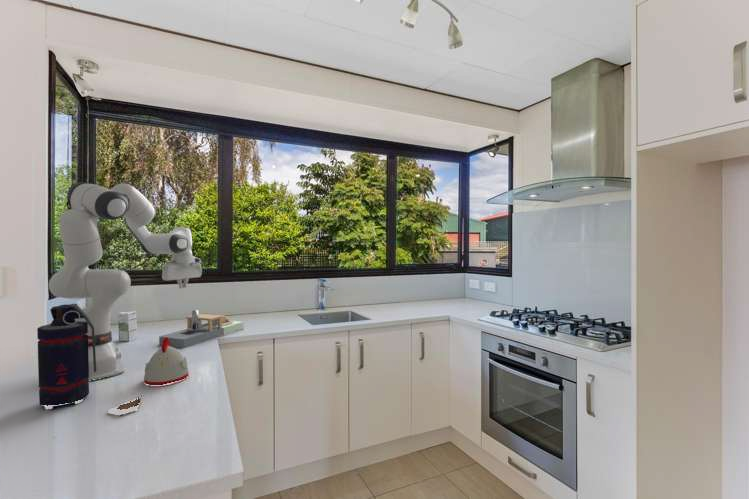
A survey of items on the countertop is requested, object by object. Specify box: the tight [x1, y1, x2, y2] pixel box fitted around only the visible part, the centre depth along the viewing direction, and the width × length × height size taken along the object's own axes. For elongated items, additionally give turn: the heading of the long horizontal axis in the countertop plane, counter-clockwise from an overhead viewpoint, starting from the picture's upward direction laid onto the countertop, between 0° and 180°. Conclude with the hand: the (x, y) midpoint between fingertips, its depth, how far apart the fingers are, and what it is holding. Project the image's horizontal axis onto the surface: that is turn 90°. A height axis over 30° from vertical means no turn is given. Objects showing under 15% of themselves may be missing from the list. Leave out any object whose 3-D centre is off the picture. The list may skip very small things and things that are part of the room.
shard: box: [117, 395, 143, 410], centre depth 110 cm, size 11×8×2 cm
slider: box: [186, 309, 234, 332], centre depth 197 cm, size 22×10×10 cm, turn 158°
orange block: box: [212, 314, 227, 326], centre depth 202 cm, size 5×5×4 cm
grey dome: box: [143, 337, 189, 385], centre depth 133 cm, size 14×14×15 cm
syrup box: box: [117, 310, 138, 342], centre depth 186 cm, size 6×6×14 cm
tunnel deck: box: [158, 313, 245, 349], centre depth 193 cm, size 40×16×10 cm, turn 158°
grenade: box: [36, 303, 96, 406], centre depth 114 cm, size 14×12×30 cm
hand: (182, 288), depth 181 cm, fingers closed
